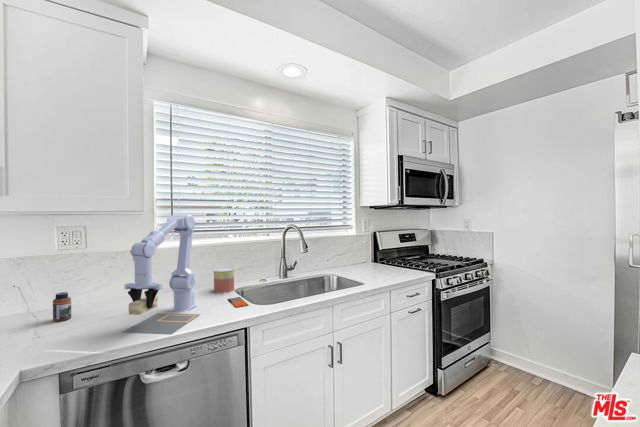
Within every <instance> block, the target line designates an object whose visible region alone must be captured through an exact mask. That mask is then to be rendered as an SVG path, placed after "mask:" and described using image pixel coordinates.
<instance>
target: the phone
mask: <svg viewBox="0 0 640 427" xmlns="http://www.w3.org/2000/svg"><path fill="white" fill-rule="evenodd" d="M227 301H228V302H229V303H230V304H231V305H232V306H233V307H234V308H235V309H238V308H242V307H248V306H250V305H249V303H248V302H246V301H245V300H244V299H243V298H242V297H240V296H237V297H231V298H228V299H227Z"/></svg>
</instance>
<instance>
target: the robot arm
mask: <svg viewBox="0 0 640 427" xmlns="http://www.w3.org/2000/svg"><path fill="white" fill-rule="evenodd" d="M195 223H196V220H195V218H194V217H193V215H192V214H171V215H170V216H168V218H167V220H166V222H165V223H164V224H163V225H162V226H161V227H160V228H159V229H158V230H152V231H150V232H149V234H148V235H147V236H145V237H143V239H142V240H141V241H140V242H139V241H137V242H135V243H134V244H133V245H132V246H131V249H130V251H129V252H130V255H131V256H132V260H133V262H134V282H130V283H125V284H124V290H128V291H127V294H128V295H129V297H130V298H131V300H132V302H134V301H136V300H139V299H141V298H142V293H143V290H145V291H144V293H143V294H144V295H145V296H144V297H146V300H147V309H150V308H152V306H153V302H154V299H155V296H157V294H158V293H159V291H161V290H163V283H155V282H153V278H152V277H153V276H152V275H153V272H152V269H153V268H152V266H153V265H152V264H153V263H152V260H153V259H152V256H154V255H155V252H156V250H157V248H158V247H159V246H160V245H161V244H162V243H163V242H164V241H165V237H166V236H167V235H168V234H169V233H171V232H172V231H175V232H176V233H177V234H179V237H180V239H179V247H178V256H177V257H178V258H177V265H176V269H175V270H173V272H171V277H170V279H169V282H168V286H169V287H170V289H171V291H172V292H173V308H172V309H169V311H170V312H187V311H190V310H192V309H193V308H194V307H197V304H195V303H196V301H195V300H196V299H195V298H196V297H195V290H194V289H193V288H194V286H195V283H196V282H195V281H196V280H195V273H194V272H193V271H192V270H191V269H190V267H191V266H190V264H191V255H192V254H191V253H192V244H193V238H194V237H193V234H194V232H195Z"/></svg>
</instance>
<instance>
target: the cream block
mask: <svg viewBox="0 0 640 427" xmlns="http://www.w3.org/2000/svg"><path fill="white" fill-rule="evenodd" d="M156 307H158V295H156V296H155V299H154V302H153V306H152V308H150V309H147V300H146V296H144V297H141V299H139V300H136V301H134V302H133V301H132V302H129V303H128V315H131V316H132V315H135V316H136V315H138V316H140V315H143V314H145V313H146V312H148V311H150V310H152V309H155V308H156Z"/></svg>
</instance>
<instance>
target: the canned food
mask: <svg viewBox="0 0 640 427" xmlns="http://www.w3.org/2000/svg"><path fill="white" fill-rule="evenodd" d="M233 291H235V268H234V267H220V268H215V269H213V292H214V293H218V294H224V293H231V292H233Z"/></svg>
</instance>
